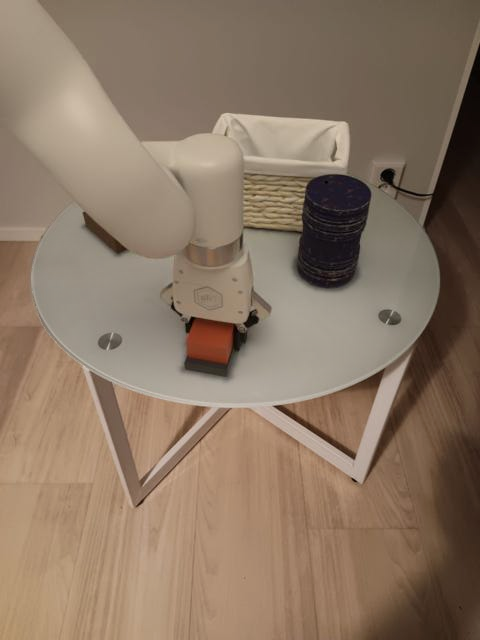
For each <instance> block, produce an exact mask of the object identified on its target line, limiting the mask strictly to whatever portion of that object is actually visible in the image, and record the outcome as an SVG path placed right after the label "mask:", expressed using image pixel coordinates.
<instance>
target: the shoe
mask: <svg viewBox="0 0 480 640" xmlns="http://www.w3.org/2000/svg"><path fill="white" fill-rule="evenodd" d="M235 328H236V325H235V323H228V322H222V321H216V320H210V319H204V318H198V317H195V320H194V322H193V325H192V327H191V330H190V332H189V335H188V334H187V337H186V340H185V343H186V352H187V355H186V358H185V360H184V363H183V364H184V369H185V370H187V371H194V372H198V373H204V374H209V375H214V376H219V377H225V378H227V377H228V375H229V372H230V368H231V365H232V361H233V358H234V355H235V351H236V350H235V349H234V331H235Z"/></svg>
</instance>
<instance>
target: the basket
mask: <svg viewBox="0 0 480 640" xmlns="http://www.w3.org/2000/svg"><path fill="white" fill-rule="evenodd" d="M211 133H215V134H221V135H224V136H227V137H229V138H231V139H233V140H234V141H236V143H237V144H238V145H239V146H240V148H241V150H242V152H243V156H244V202H243V228H245V227H248V228H254V229H258V228H259V229H267V230H272V229H273V230H282V231H295V232H300V233H302V230H303V223H302V213H303V202H304V199H305V190H306V186H307V184H308V183H309V182H310V181H311V180H312V179H314V178H316V177H318V176H322V175H327V174H342V175H347V176H348V166H349V159H350V150H351V135H350V125H349V123H348V122H347V121H343V120H341V121H340V120H339V121H338V120H327V119H318V118H301V117H300V118H299V117H283V116H281V117H280V116H269V115H259V114H258V115H257V114H246V113H232V112H225V113H222V114H220V116H219V118H218V119H217V120H216V123H215V125H214V127H213V130H212V131H211Z"/></svg>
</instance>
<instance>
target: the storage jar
mask: <svg viewBox="0 0 480 640" xmlns="http://www.w3.org/2000/svg"><path fill="white" fill-rule="evenodd" d="M372 194H373V193H372V190H371V188H370V187H369V186H368V184H367V183H365V182H364V181H362V180H361V179H360V178H356V177H354V176H351V175H348V174H347V175H342V174H327V175H322V176H318V177H316V178H314V179H312V180H311V181H310V182H309V183H308V184H307V186H306V190H305V199H304V202H303V213H302V223H303V230H302V232H301V235H300V238H299V242H298V249H297V263H296V265H297V266H296V270H297V273H298V275H299V277H300V278H301V279H302V280H303V281H304V282H306V283H308V284H309V285H311V286H314V287H317V288H321V289H337V288H341V287H344V286H346V285H347V284H349V283H350V282H351V281H352V280H353V279H354V277H355V274H356V268H357V265H358V262H359V259H360V253H361V238H362V234H363V232H364V231H365V228H366V226H367V220H368V217H369V213H370V204H371V200H372V197H373V196H372Z"/></svg>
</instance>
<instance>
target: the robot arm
mask: <svg viewBox="0 0 480 640" xmlns="http://www.w3.org/2000/svg"><path fill="white" fill-rule="evenodd" d="M0 120H1V122H2V123H3V124H4V125H5V126H6V128H7V129H8V130H9V131H10V132H11V133H12V135H13V136H14V137H15V138H16V140H17V141H18V142H19V143H20V144H21V145H22V146H23V148H24V149H25V150H26V151H27V152H28V153H29V154H30V155H31V156H32V157H33V158H34V159H35V160H36V161H37V162H38V164H40V166H42V167H43V169H45V170H46V172H47V173H48V174H49V175H50V176H51V177H52V178H53V179H54V180H55V181H56V183H57V184H58V185H59V186H60V187H61V188H62V190H63V191H65V193H66V194H67V195H68V196H69V197H70V198H71V199H72V201H74V203H76V204H77V206H79V207H80V208H81V209H82V211H83V212H86V213H87V214H88V215H89V216H90V217H91V218H92V219H93V220H94V221H95V222H96V223H98V224H99V225H100V226H101V227H102V228H103V229H105V230H106V231H107V232H108V233H109V234H110V235H111V236H113V237H114V238H115V239H116V240H117V241H118V242H120V243H121V244H122V245H123V246H124V247H125V248H127V249H126V250H128V251H129V252H131V253H133V254H135V255H137V256H139V257H143V258H146V259H150V260H151V259H152V260H162V259H166V258H167V259H168V258H171V257H173V261H172V262H173V263H172V281H171V282H170V283H169V284H168V285H166V286H165V287H164V288H162V289H161V291H160V293H159V295H158V298H159V299H160V300H161V301H163V303H165V304H166V305H168V306H170V310H172V311H173V312H174V313H176V314H177V315H178V316H179V317H180V321H181V322H182V323H184V329H185V331H184V332H185V333H186V334H187V336H188V335H189V332H190V330H191V327H192V325H193V322H194V320H195V317H198V318H204V319H210V320H216V321H222V322H228V323H235V325H236V328H235V331H234V349H235V351H238V352H240V350H241V346H242V344H246V343H247V340H248V329H249V328H251V327H253V326H255V325H257V324H259V322H261V321H264V320H265V319H267V318H269V317H271V314H272V310H273V307H272V306H271V305H270V304H269V303H268V302H267V301H266V300H265V299H264V298H263V297H262V296H261V295H259V294H258V292H256V291H255V285H254V273H253V272H254V271H253V265H252V259H251V255H250V251H249V248H248V245H247V244H245V243H244V227H243V202H244V156H243V152H242V150H241V148H240V146H239V145H238V144H237V143H236V141H234V140H233V139H231V138H229V137H227V136H224V135H221V134H215V133H212V132H204V133H203V132H202V133H196V134H193V135H189V136H187V137H186V138H183V139H181V140H157V141H155V140H153V141H151V140H148V141H147V140H142V141H141V140H140V139H139V138H138V137H137V135H136V134H135V133H134V131H133V130H132V129H131V127H130V126H129V125H128V123H127V122H126V121H125V119H124V118H123V116H122V115H121V114H120V112H119V111H118V109H117V108H116V106H115V105H114V103H113V102H112V100H111V99H110V97H109V96H108V94H107V92H106V91H105V89H104V87H103V86H102V84H101V81H100V80H99V79H98V77H97V76H96V73H95V72H94V71H93V69H92V68H91V66H90V65H89V63H88V62H87V61H86V59H85V58H84V56H83V55H82V54H81V52H80V51H79V49H78V48H77V47H76V45H75V44H74V42H72V40H71V39H70V38H69V36H68V35H67V34H66V33H65V32H64V31H63V30H62V28H61V27H60V26H59V25H58V24H57V22H56V21H55V20H54V18H53V17H52V16H51V15H50V14H49V12H48V11H47V10H46V9H45V8H44V7H43V6H42V4H41V3H40V2H39V1H38V0H0ZM251 307H252V308H253V309H252V310H251Z"/></svg>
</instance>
